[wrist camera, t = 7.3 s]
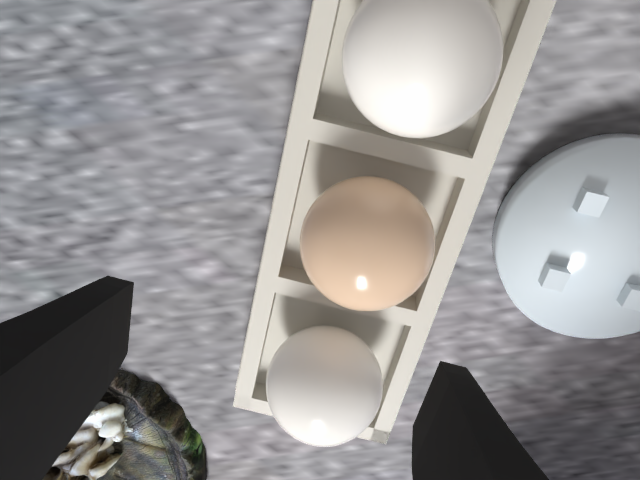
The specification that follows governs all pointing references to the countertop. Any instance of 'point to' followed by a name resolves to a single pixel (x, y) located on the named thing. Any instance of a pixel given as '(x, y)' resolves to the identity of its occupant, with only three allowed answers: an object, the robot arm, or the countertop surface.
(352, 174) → the carton
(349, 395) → the egg white far
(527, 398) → the countertop surface
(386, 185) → the egg brown
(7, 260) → the countertop surface
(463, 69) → the egg white near
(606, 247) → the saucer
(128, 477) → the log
